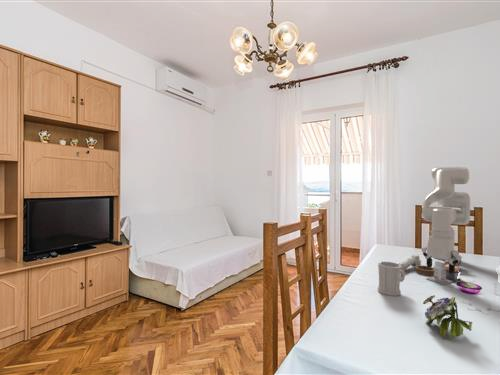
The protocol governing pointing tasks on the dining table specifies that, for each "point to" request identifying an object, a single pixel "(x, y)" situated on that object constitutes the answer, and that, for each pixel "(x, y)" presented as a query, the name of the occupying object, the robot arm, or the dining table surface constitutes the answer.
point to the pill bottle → (439, 271)
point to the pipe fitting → (454, 259)
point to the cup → (390, 278)
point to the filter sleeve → (424, 270)
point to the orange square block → (448, 268)
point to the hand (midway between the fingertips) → (440, 269)
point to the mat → (440, 281)
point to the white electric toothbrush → (410, 262)
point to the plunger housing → (452, 275)
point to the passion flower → (446, 308)
